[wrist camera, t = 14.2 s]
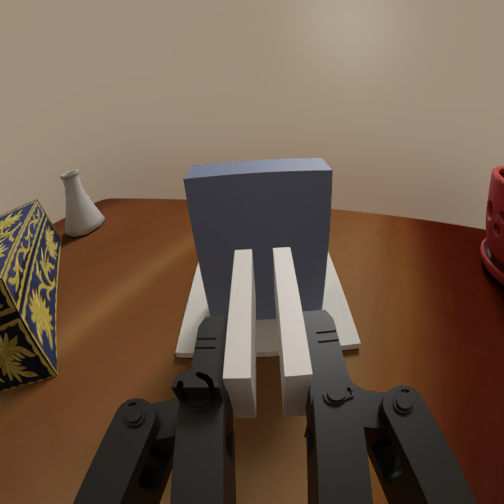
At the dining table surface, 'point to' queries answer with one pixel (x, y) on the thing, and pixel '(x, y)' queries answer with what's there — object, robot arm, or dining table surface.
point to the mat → (268, 328)
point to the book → (261, 226)
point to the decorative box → (28, 296)
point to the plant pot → (495, 227)
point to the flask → (79, 207)
